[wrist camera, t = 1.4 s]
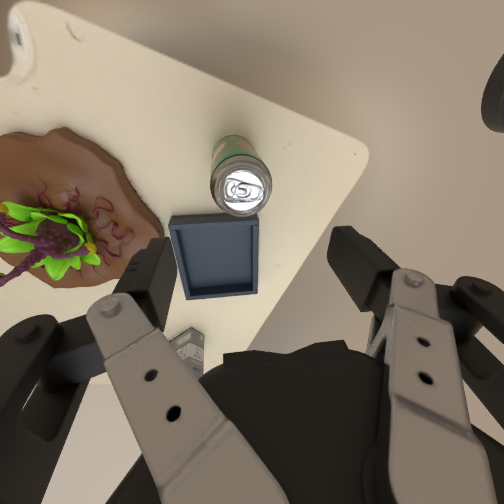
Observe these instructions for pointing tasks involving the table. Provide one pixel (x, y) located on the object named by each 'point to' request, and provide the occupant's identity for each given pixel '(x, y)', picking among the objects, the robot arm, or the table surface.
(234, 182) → the soda can
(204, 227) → the container
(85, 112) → the table surface
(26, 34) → the table surface
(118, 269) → the plant
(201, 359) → the label tape box
